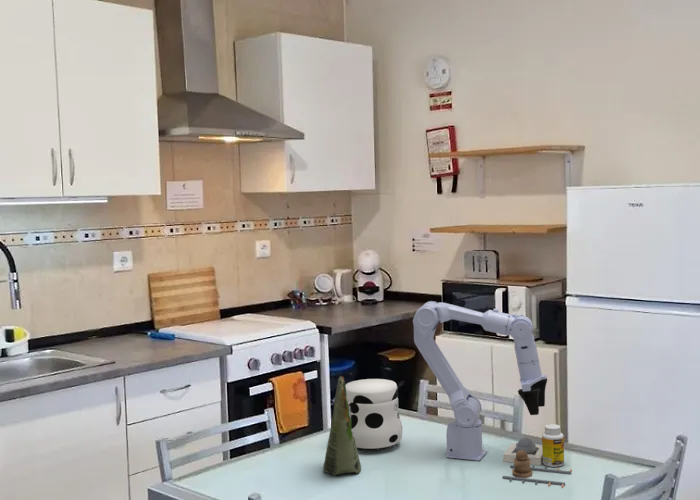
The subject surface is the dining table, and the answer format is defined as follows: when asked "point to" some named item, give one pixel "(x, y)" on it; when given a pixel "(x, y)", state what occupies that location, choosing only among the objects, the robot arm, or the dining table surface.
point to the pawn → (522, 465)
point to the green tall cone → (341, 437)
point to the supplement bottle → (553, 446)
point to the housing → (534, 459)
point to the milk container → (374, 413)
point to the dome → (526, 446)
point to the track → (537, 479)
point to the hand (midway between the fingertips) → (537, 410)
